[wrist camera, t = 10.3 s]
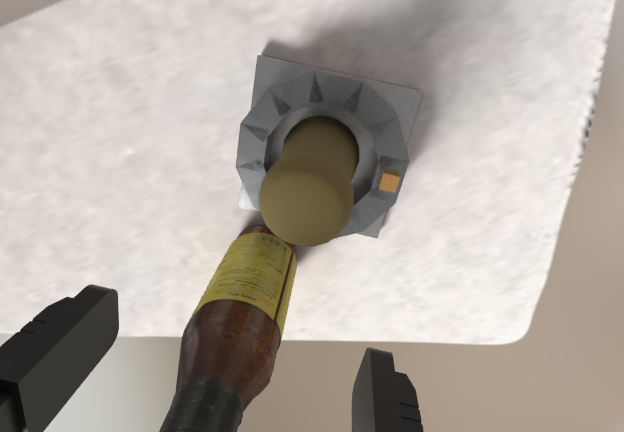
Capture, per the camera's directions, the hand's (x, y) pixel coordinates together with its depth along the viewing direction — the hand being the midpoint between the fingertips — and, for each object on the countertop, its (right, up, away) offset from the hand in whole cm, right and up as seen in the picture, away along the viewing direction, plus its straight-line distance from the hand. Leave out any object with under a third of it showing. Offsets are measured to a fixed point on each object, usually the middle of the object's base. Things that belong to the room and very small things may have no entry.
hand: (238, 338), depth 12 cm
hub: (+3, +9, +18) cm, 20 cm away
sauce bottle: (-2, 0, +23) cm, 23 cm away
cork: (+3, +9, +17) cm, 19 cm away
